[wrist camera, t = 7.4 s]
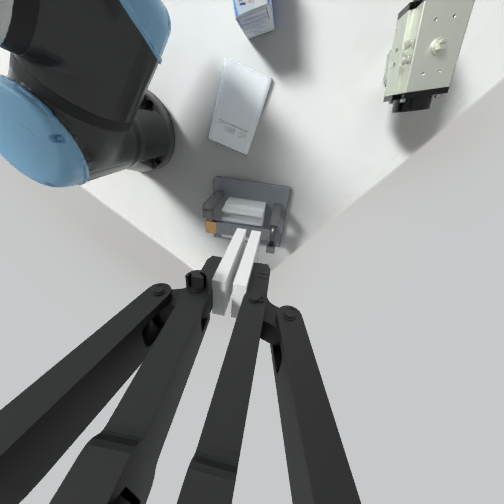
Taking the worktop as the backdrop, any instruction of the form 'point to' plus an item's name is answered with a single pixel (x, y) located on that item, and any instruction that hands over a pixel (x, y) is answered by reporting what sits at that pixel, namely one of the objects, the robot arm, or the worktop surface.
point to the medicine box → (254, 16)
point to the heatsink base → (255, 195)
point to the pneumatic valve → (425, 52)
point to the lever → (230, 228)
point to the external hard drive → (238, 106)
